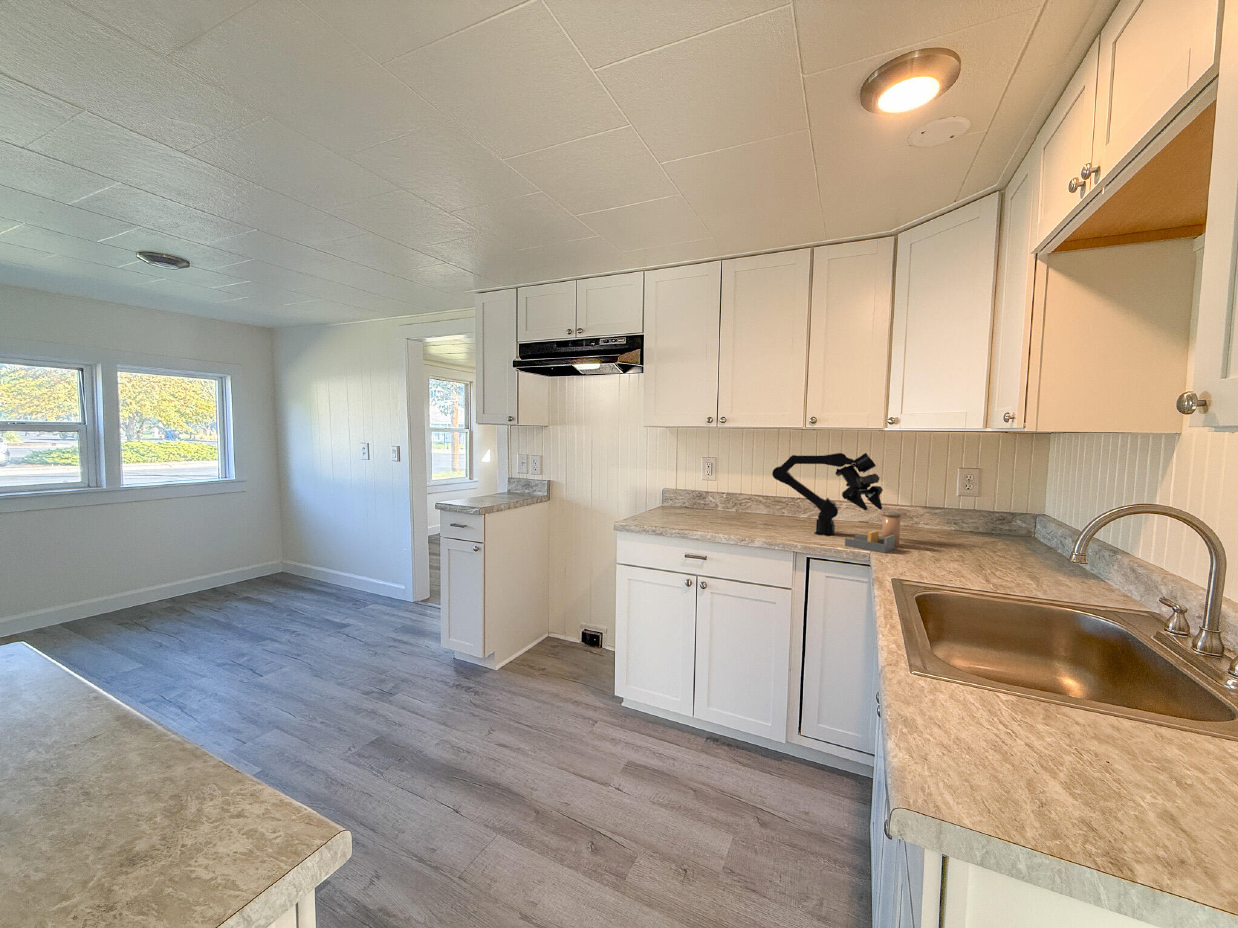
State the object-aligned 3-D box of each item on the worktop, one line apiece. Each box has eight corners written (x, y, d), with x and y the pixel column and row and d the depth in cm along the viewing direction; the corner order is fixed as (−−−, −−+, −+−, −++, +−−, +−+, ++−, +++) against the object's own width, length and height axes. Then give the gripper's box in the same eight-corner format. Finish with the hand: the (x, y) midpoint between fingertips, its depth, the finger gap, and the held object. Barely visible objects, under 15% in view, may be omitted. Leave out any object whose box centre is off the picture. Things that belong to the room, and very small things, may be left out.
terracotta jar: (878, 545, 191) (880, 512, 190) (884, 543, 195) (886, 511, 195) (896, 548, 186) (898, 515, 186) (902, 546, 191) (903, 513, 190)
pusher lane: (844, 545, 190) (845, 531, 189) (855, 542, 197) (855, 528, 196) (885, 553, 179) (886, 538, 179) (894, 548, 186) (895, 534, 186)
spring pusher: (867, 547, 185) (867, 532, 184) (874, 544, 190) (875, 530, 190) (870, 547, 184) (871, 533, 184) (878, 544, 189) (878, 530, 189)
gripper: (851, 466, 195) (873, 498, 187) (881, 466, 204) (903, 497, 195) (832, 483, 203) (853, 514, 194) (862, 482, 212) (883, 512, 203)
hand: (874, 509), depth 196 cm, fingers open, 9 cm apart
